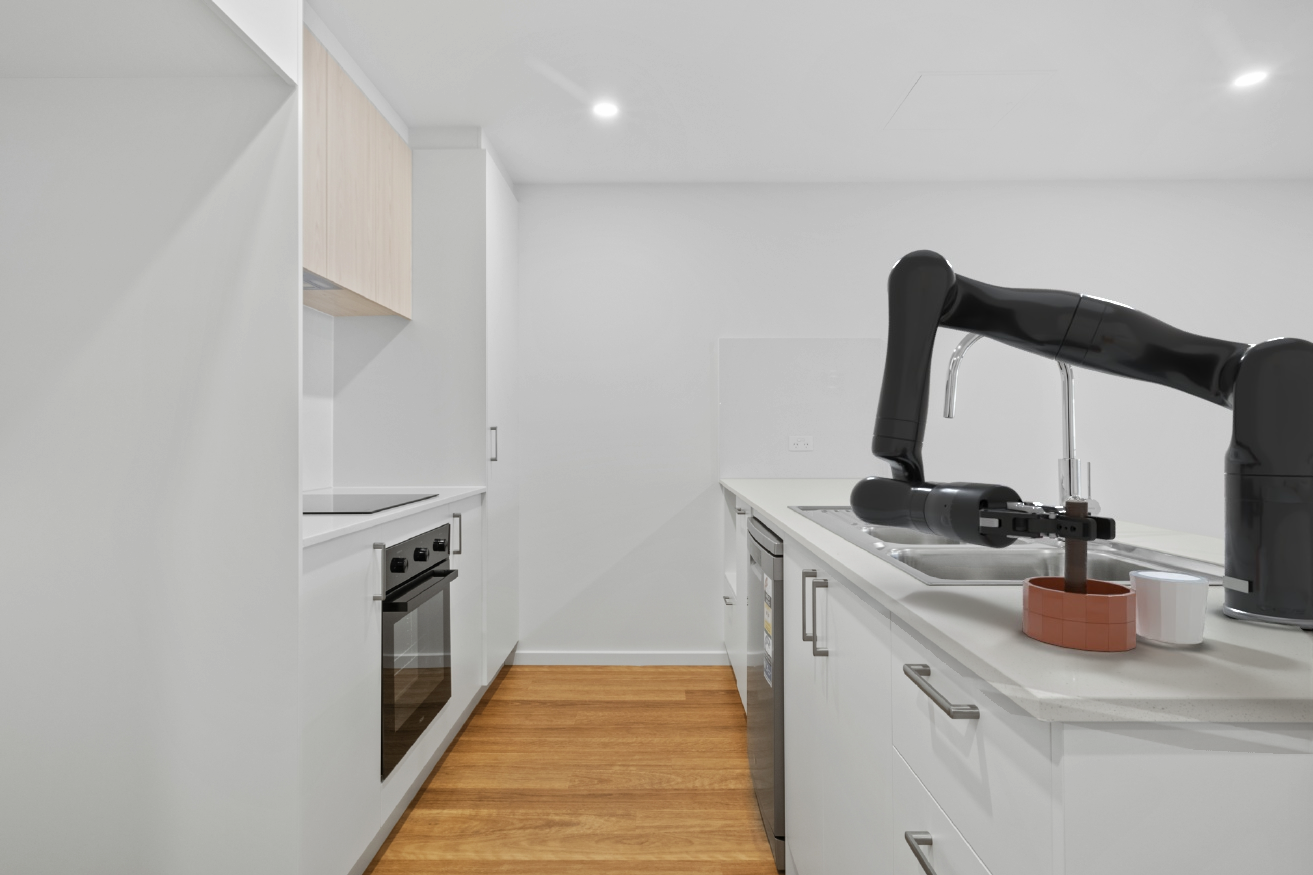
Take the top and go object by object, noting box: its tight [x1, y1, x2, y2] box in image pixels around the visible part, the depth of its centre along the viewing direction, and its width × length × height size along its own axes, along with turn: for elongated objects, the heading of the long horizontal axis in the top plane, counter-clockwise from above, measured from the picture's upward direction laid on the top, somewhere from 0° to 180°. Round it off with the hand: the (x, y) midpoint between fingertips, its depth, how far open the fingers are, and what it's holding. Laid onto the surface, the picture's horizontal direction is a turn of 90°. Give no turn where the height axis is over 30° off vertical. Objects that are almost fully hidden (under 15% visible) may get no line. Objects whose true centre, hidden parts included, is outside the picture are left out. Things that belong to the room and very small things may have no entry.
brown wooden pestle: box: [1063, 500, 1089, 594], centre depth 72 cm, size 3×3×14 cm
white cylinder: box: [1128, 569, 1210, 645], centre depth 73 cm, size 7×7×7 cm
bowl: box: [1022, 575, 1137, 653], centre depth 72 cm, size 10×10×6 cm
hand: (1103, 529), depth 69 cm, fingers closed on brown wooden pestle, 2 cm apart
